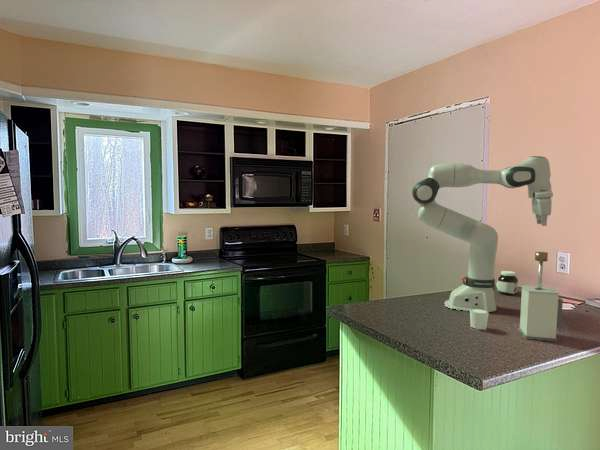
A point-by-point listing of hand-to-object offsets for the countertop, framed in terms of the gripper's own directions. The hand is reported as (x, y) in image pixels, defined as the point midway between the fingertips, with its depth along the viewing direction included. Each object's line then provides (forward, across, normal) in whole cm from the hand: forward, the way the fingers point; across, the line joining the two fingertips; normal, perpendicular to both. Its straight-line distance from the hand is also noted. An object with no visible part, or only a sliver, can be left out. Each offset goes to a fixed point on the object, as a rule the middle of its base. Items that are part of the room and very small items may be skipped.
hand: (541, 224), depth 181 cm
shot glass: (+36, +32, -30) cm, 57 cm away
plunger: (+27, +34, -9) cm, 44 cm away
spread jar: (+39, -35, -12) cm, 54 cm away
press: (+38, +34, -9) cm, 52 cm away
